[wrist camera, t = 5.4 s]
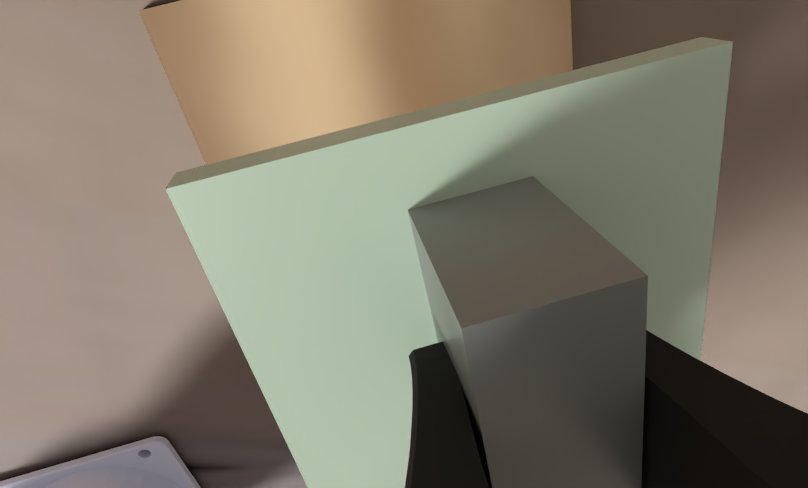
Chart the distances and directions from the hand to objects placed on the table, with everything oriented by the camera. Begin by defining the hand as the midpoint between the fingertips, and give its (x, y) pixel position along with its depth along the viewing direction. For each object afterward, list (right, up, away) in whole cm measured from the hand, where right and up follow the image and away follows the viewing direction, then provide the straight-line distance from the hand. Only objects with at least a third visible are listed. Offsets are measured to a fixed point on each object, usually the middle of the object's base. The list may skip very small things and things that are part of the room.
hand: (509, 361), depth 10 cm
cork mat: (-2, +6, +9) cm, 10 cm away
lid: (0, +1, +2) cm, 3 cm away
